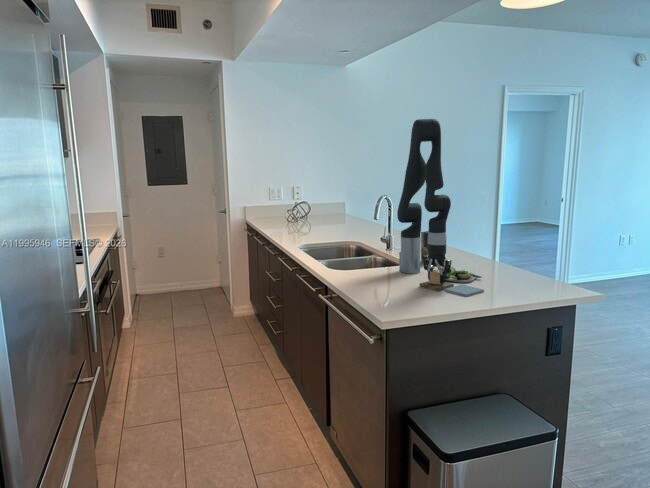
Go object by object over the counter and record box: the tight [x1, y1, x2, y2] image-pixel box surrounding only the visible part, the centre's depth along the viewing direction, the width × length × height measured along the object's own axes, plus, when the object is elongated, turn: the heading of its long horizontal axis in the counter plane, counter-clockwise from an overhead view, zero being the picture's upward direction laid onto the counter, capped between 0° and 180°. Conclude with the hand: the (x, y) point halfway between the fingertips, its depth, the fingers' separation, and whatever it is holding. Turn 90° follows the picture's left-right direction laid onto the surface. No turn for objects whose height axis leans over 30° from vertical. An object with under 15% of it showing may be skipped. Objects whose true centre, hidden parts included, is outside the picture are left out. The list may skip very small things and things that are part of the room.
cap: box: [430, 269, 441, 284], centre depth 201 cm, size 6×6×5 cm
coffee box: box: [420, 230, 430, 263], centre depth 248 cm, size 9×6×16 cm
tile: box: [444, 283, 485, 298], centre depth 193 cm, size 11×11×1 cm
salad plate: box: [442, 266, 483, 284], centre depth 215 cm, size 19×18×5 cm
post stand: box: [419, 280, 455, 292], centre depth 201 cm, size 10×10×6 cm
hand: (436, 281), depth 201 cm, fingers open, 5 cm apart
